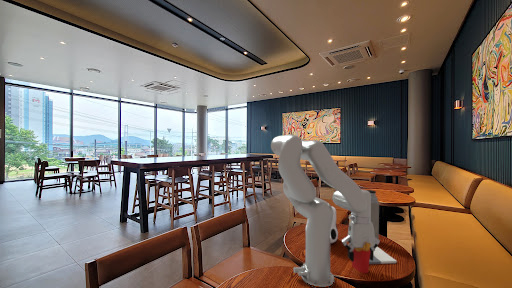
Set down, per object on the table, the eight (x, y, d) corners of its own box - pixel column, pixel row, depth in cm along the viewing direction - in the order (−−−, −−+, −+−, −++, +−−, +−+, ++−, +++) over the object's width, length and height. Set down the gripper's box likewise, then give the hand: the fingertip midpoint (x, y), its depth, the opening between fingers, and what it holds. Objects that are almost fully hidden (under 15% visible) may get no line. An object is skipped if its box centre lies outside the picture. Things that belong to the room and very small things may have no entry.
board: (365, 264, 94) (365, 262, 94) (346, 246, 110) (346, 245, 110) (396, 263, 96) (396, 260, 96) (373, 246, 112) (373, 244, 112)
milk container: (305, 245, 112) (305, 211, 112) (305, 232, 129) (305, 202, 129) (340, 249, 108) (340, 214, 108) (335, 235, 125) (335, 204, 125)
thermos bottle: (364, 243, 115) (365, 191, 115) (360, 237, 122) (361, 188, 122) (380, 244, 113) (381, 192, 113) (375, 238, 121) (376, 189, 121)
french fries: (348, 264, 95) (348, 235, 95) (355, 262, 96) (355, 233, 96) (365, 276, 86) (365, 244, 86) (373, 273, 88) (373, 242, 88)
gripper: (345, 222, 87) (345, 265, 87) (385, 221, 88) (385, 263, 88) (337, 216, 94) (337, 255, 94) (374, 215, 96) (374, 254, 96)
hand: (360, 259), depth 91 cm, fingers open, 8 cm apart
